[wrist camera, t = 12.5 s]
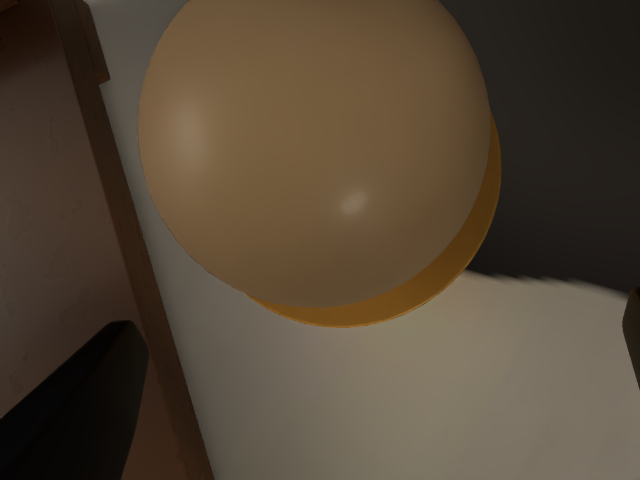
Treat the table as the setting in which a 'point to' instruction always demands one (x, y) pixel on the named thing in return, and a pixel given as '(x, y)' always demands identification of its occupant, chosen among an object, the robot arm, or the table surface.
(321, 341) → the table surface
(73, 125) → the wooden desk tray
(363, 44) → the doll
